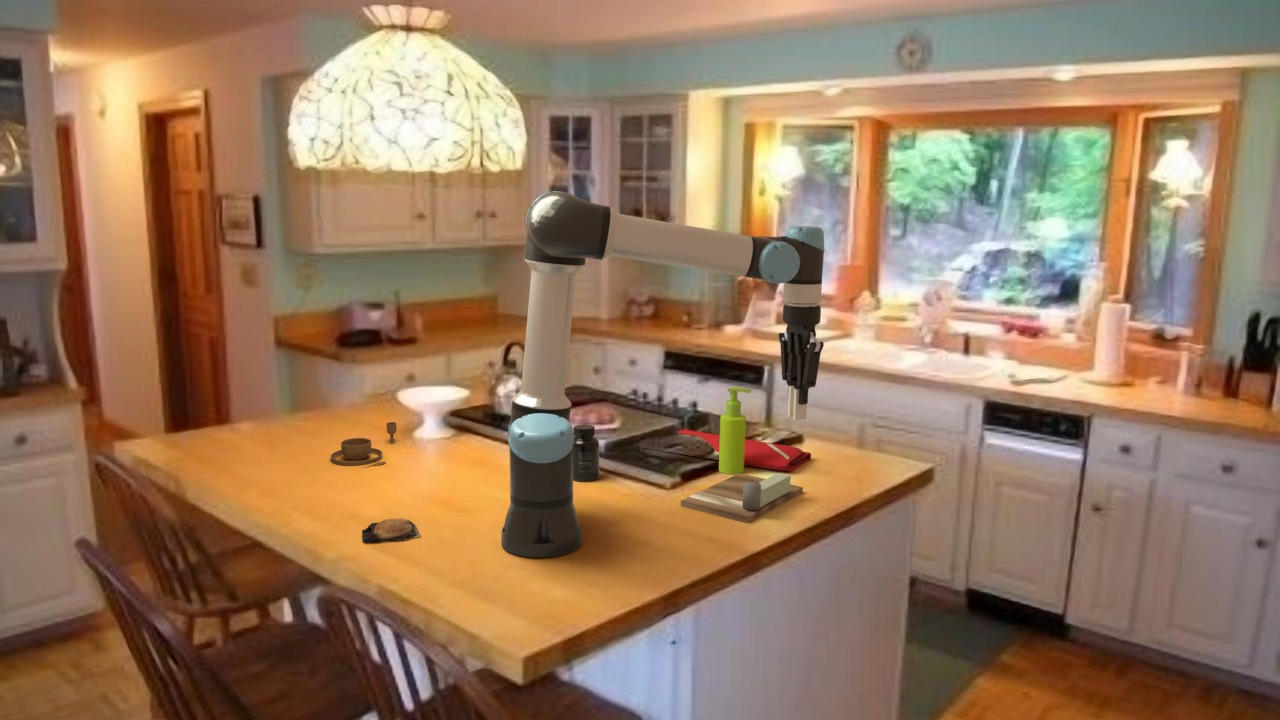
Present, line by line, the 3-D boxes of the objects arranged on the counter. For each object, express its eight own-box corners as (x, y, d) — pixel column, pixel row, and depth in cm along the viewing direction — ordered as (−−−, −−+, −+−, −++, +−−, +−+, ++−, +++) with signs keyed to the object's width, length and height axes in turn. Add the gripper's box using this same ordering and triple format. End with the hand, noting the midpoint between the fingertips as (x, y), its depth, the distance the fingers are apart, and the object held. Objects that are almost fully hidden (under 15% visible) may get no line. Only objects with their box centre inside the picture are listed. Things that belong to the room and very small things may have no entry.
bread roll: (415, 527, 186) (415, 509, 185) (422, 541, 178) (422, 523, 177) (359, 533, 182) (359, 514, 181) (364, 548, 174) (363, 529, 173)
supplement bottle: (604, 475, 217) (604, 425, 215) (590, 484, 211) (590, 432, 209) (578, 471, 220) (578, 421, 218) (563, 479, 214) (563, 428, 211)
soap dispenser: (747, 475, 218) (750, 391, 215) (717, 473, 220) (719, 389, 216) (749, 468, 224) (752, 386, 220) (720, 466, 225) (722, 384, 222)
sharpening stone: (754, 511, 190) (755, 488, 190) (739, 507, 193) (739, 485, 192) (791, 491, 203) (792, 470, 202) (776, 488, 205) (777, 466, 204)
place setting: (318, 456, 230) (316, 433, 229) (393, 443, 243) (393, 420, 242) (348, 474, 217) (347, 449, 216) (426, 458, 230) (426, 435, 229)
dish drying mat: (668, 435, 253) (668, 422, 253) (811, 461, 232) (812, 446, 231) (637, 449, 240) (637, 435, 239) (786, 477, 219) (787, 462, 218)
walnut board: (747, 523, 188) (747, 516, 188) (680, 505, 197) (680, 500, 197) (802, 492, 207) (802, 486, 207) (739, 478, 216) (739, 472, 216)
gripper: (838, 307, 184) (832, 424, 188) (798, 298, 197) (793, 408, 201) (806, 309, 181) (800, 428, 186) (767, 300, 194) (762, 411, 199)
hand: (796, 417), depth 193 cm, fingers closed
